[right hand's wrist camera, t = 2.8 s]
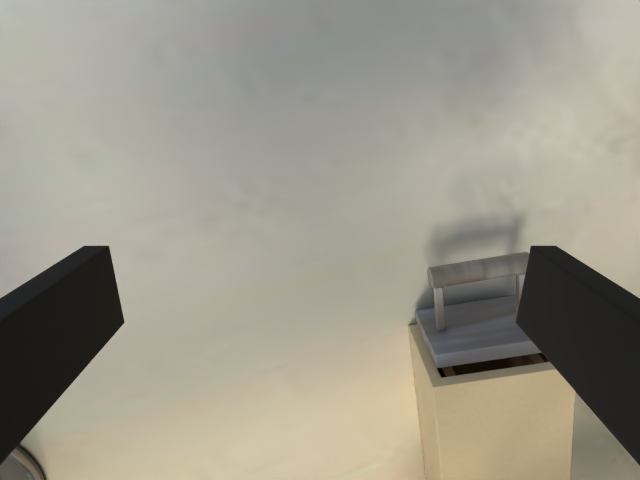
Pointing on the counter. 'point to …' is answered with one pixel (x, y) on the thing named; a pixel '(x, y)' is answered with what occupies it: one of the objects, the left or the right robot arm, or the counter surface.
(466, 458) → the cabinet
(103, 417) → the counter surface
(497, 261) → the drawer
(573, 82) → the counter surface
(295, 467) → the counter surface
